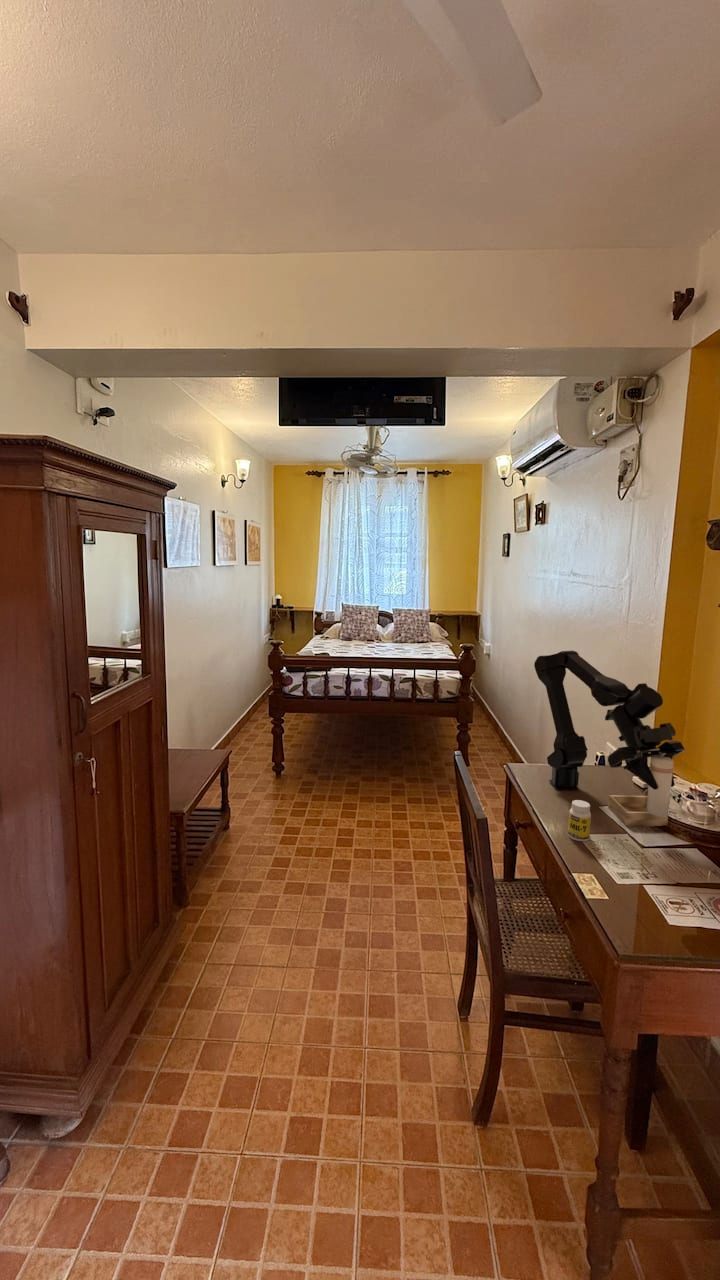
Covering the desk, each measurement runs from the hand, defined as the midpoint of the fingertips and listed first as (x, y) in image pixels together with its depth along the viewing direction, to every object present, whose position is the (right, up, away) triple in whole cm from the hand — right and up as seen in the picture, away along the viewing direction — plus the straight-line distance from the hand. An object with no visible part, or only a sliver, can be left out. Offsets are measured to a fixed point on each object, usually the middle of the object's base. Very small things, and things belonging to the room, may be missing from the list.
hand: (664, 787), depth 127 cm
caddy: (+1, -11, +14) cm, 18 cm away
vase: (-1, -6, +2) cm, 7 cm away
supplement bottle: (-19, -13, +3) cm, 23 cm away
